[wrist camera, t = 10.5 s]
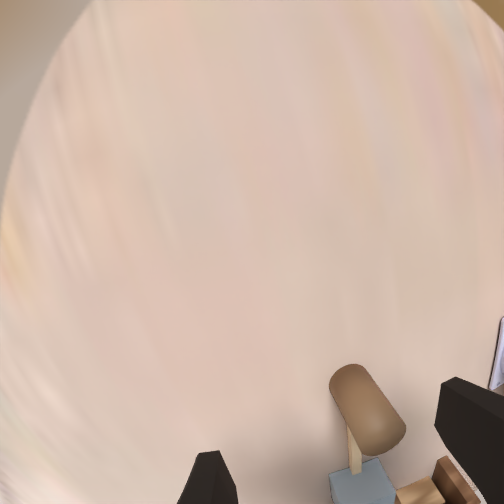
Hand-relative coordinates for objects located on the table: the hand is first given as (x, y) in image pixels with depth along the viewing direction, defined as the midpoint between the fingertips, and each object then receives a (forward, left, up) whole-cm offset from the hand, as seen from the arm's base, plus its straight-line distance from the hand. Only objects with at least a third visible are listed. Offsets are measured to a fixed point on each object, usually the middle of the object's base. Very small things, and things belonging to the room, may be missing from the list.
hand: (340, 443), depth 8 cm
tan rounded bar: (-4, +13, -10) cm, 17 cm away
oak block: (-10, +27, -10) cm, 31 cm away
